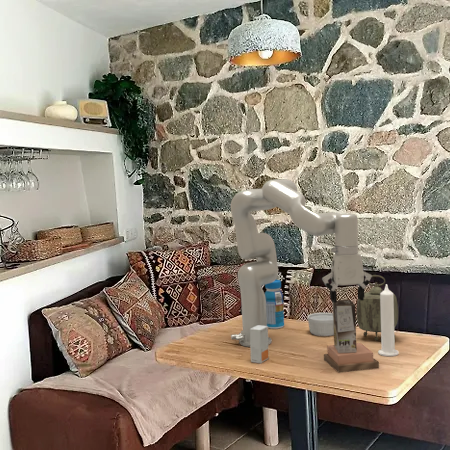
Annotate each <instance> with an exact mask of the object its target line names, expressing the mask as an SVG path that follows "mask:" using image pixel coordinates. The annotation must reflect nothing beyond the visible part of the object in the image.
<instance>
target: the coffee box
mask: <svg viewBox="0 0 450 450" xmlns="http://www.w3.org/2000/svg"><path fill="white" fill-rule="evenodd" d="M331 302H332V301H331ZM332 313H333V327H334V335H333V345H334V346H335V348H336V350H337V351H338V353H356V352H357V348H356V343H357V323H356V322H357V315H356V304H355V303H354V302H353V301H352V300H351V299H341V300H340V299H339V300H337V302H336V303H334V302H332Z"/></svg>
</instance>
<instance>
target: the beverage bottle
mask: <svg viewBox="0 0 450 450" xmlns="http://www.w3.org/2000/svg"><path fill="white" fill-rule="evenodd" d="M264 287H265V289H266V291H265V292H264V294H265V297H266V315H267V326H268V329H270V330H271V329H272V330H273V329H275V330H276V329H277V330H278V329H283V328H284V327H285V313H284V312H285V311H284V310H285V309H284V304H285V303H284V302H285V301H284V299H283V298H284V294H283V292H282V290H281V288H282V281H281V280H280V279H276V280H275V281H274V282H272V283H269V284H265V286H264Z"/></svg>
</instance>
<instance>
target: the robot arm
mask: <svg viewBox="0 0 450 450" xmlns="http://www.w3.org/2000/svg"><path fill="white" fill-rule="evenodd" d="M305 205H306V197H305V196H304V194H302V193H301V192H298V186H297V184H296V183H295V181H293V180H291V179H288V178H279V179H270V180H267V181H266V182H265V183H264V184H263V186H262V187H261V188H250V189H245V190H241V191H238V192H236V194H234V196H233V197H232V199H231V202H230V213H231V217H232V220H233V221H232V222H233V224H234V232H235V237H236V238H235V240H236V244H237V245H236V247H237V252H238V255H239V257H240V258H241V259H242V260H243V259H244V260H253V259H257V261H252V262H247V263H245V264H243V265H241V266H240V268H239V269H238V270H237V281H238V284H239V285H238V286H239V289H240V300H241V301H240V302H241V320H242V321H241V323H242V330H240V332H239V333H238V334H237V333H234V334H233V333H232V334H230V338H231V339H230V340H231V341H232V340H235V341H238V343H239V344H240V346H243V347H248V348H250V329H251V328H253V327H255V326H257V325H261V326H267V315H266V297H265V292H264V290H263V287H262V286H264V285H265V284H269V283H272V282H274V281H275V280H278V279H277V278H278V276H279V266H278V257H277V251H276V245H275V241H274V239H273V238H272V236H271V235H270V234H268V233H266V232H258V226H257V221H256V219H255V217H254V215H252V212H259V211H267V210H268V211H269V210H272V209H274V208H279V209H281V211H283V212H285V213H286V214H288V215H289V217H290V219H291V221H292V223H293V224H294V225H295V226H296V227H297V228H299V229H300V230H302V231H304V232H305V233H306V234H309V235H311V236H314V237H321V236H322V237H323V236H326V235H327V236H328V235H332V234H333V235H334V246H333V247H331V253H334V254H333V257H332V259H331V260H332V262H331V270H330V271H331V272H330V273H328V274H327V275H325V276H323V277H322V278H321V280H322V282H323V284H324V286H325V287H326V288H327V289H328V290H329V299H330V300H331V302H334V303H336V302H337V301H338V300H337V291H336V289H337V287H338V286H353V285H355V286H356V285H358V287H357V300H358V299H360V300H362V301H363V300H364V293H365V289H367V286H368V285H369V283H370V281H371V279H372V278H373V277H372V274H371V273H368V272H366V271H364V265H363V259H362V254H360V253H359V238H358V237H359V234H358V233H359V225H358V224H359V223H358V219H359V218H358V216H357V214H355V213H340V212H335V211H329V212H321V213H315V212H313V211H311V210H309V209H308V208H307V207H305ZM364 277H365V278H364ZM329 280H331V283H329ZM272 341H273V340H272V338H271V337H269V336H268V346H269V345H270V344H272Z"/></svg>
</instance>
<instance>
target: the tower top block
mask: <svg viewBox="0 0 450 450" xmlns="http://www.w3.org/2000/svg"><path fill="white" fill-rule="evenodd" d="M356 348H357V352H356V353H338V351H337V350H336V348H335V346H334V344H331V345H327V354H328V355H329V356H330V357H331V358H332V359H333V360H334V361H335V362H336V363H337V364H338V365H341V364H352V363H363V362H374V359H375V358H374V352H373V351H372V350H370V349H369V348H368V347H366V345H365V344H363V343H361V342H356ZM373 358H374V359H373Z"/></svg>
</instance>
